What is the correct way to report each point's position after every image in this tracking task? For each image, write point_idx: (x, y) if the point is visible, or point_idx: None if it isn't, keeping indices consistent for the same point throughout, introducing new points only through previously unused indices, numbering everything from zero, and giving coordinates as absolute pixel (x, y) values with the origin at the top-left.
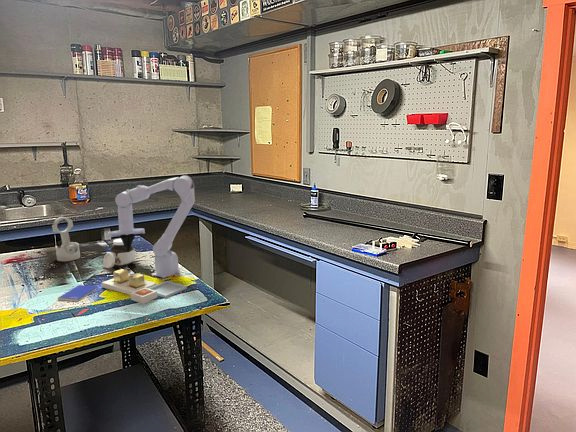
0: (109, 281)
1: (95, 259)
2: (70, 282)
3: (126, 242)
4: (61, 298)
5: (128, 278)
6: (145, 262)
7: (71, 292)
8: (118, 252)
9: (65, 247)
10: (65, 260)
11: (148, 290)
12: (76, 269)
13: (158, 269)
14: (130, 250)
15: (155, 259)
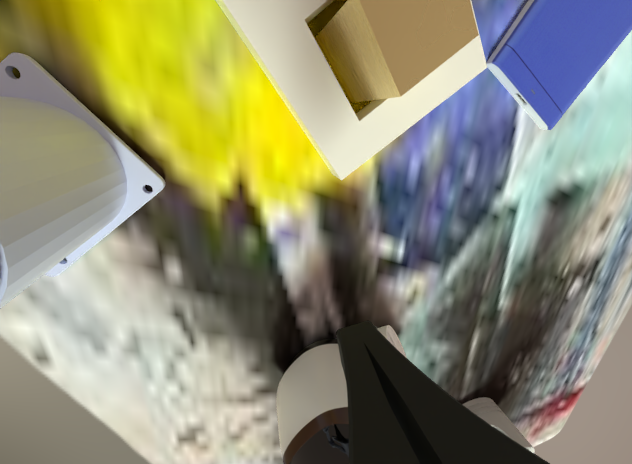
0: (445, 64)
1: None
2: (539, 206)
3: (461, 449)
4: None
5: (332, 18)
6: (224, 378)
7: (624, 7)
8: None
9: None
10: (482, 400)
11: None
12: (478, 334)
13: (49, 124)
14: (305, 432)
15: (9, 182)
